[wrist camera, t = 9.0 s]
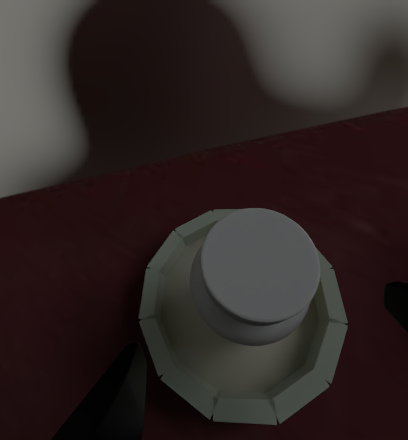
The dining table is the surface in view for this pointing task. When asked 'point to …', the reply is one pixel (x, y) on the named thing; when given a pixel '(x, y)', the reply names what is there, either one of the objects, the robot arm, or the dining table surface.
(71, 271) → the dining table surface
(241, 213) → the supplement bottle
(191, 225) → the bowl
